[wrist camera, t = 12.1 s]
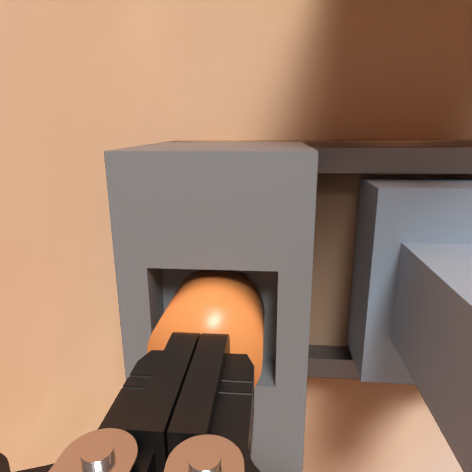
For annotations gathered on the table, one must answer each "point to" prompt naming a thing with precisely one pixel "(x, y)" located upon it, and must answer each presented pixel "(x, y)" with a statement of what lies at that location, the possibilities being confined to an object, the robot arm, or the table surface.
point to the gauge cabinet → (223, 257)
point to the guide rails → (378, 161)
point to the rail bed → (342, 237)
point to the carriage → (417, 296)
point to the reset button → (216, 313)
